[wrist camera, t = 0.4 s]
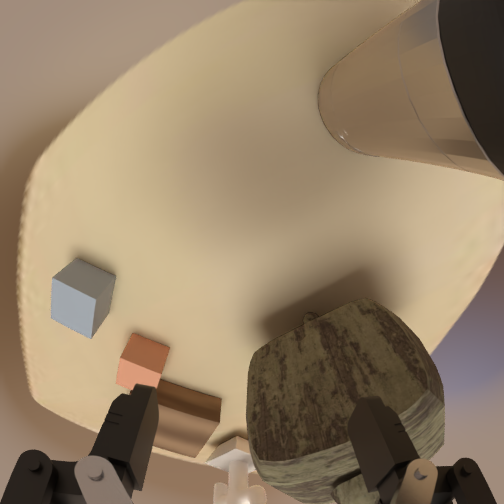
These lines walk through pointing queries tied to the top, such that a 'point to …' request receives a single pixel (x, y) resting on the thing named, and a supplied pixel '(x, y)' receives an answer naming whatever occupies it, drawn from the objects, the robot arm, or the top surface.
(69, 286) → the blue block
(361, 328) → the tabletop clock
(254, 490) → the figurine
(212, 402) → the plinth
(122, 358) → the terracotta block
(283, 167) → the top surface
